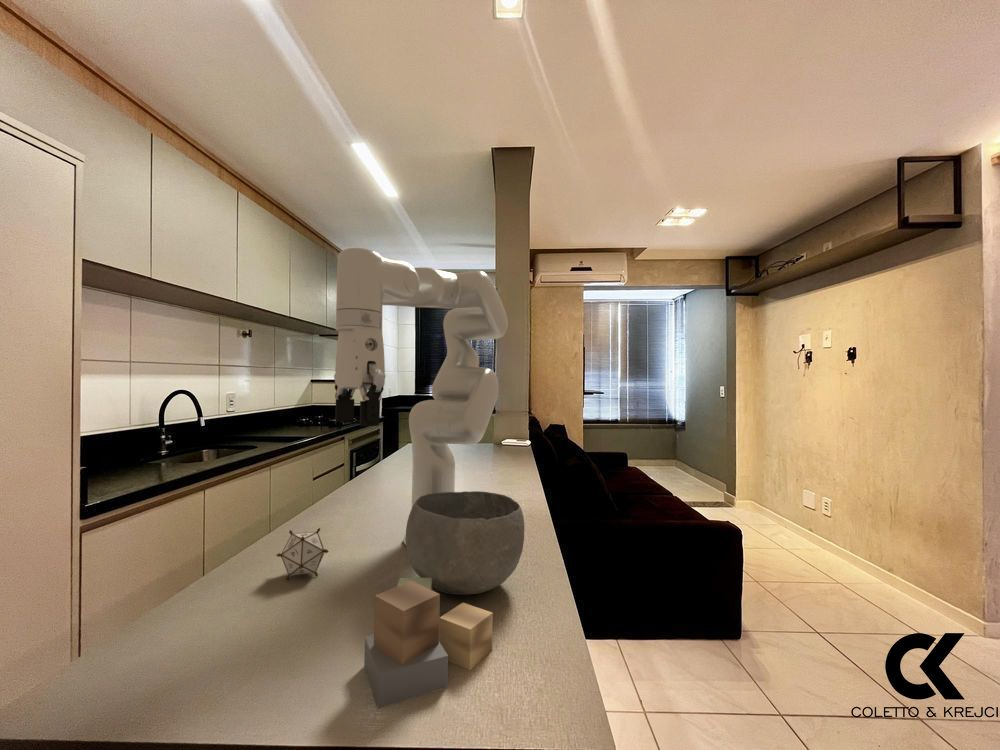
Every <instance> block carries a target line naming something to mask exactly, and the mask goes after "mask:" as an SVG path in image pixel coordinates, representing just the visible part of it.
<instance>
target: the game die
mask: <svg viewBox="0 0 1000 750" xmlns="http://www.w3.org/2000/svg"><path fill="white" fill-rule="evenodd" d="M320 531H321V527H319V528H317V530H316V531H310V532H297V533H296V532H295V533H293V531H292V530H291V529H289V531H288V532H289V535H290V536H289V537H288V539H287V542H286V544H285V546H284V548H283V550H282V551H281V553H280V552H279V553H277V554H276V555H275V556H276V557H277V558H278V557H280V558H281V559H282V562H283V565H284V567H285V570H286V572H287V575H286V577H285V580H286V581H287V580H289V579H290V577H292V576H299V575H309V574H310V575H311V574H314V575H315V577H319V573H318V572H317V571H318V569H319V566H320V565H321V562H322V559H323V557H324V555H325V554H328V553H329V550H328V548H327V549H326V548H324V544H323V543H322V539H321V536H320V533H319V532H320Z"/></svg>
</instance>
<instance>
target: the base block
mask: <svg viewBox="0 0 1000 750" xmlns="http://www.w3.org/2000/svg"><path fill="white" fill-rule="evenodd" d="M363 657H364V661H363V662H364V663H363V667H364V670H365V674H366V677H367V680H368V684H369V686H370V689H371V692H372V696H373V698H374V702H375V705H376V707H377V709H381V708H384V707H387V706H391V705H394V704H397V703H401V702H403V701H407V700H410V699H413V698H417V697H420V696H423V695H427V694H430V693H434V692H437V691H441V690H443V689H446V688H448V677H449V676H448V674H449V673H448V672H449V670H448V669H449V660H448V655H447V653H446V652H445V650H444V648H443V647H442V645H441V644H440V642H439V644H438V645H436V646H434V647H433V648H431V649H429V650H427V651H426V652H424V653H422V654H420V655H419V656H417V657H415V658H414V659H412V660H410V661H408V662H407V663H405V664H403V665H402V664H400V663H399V662H397V661H396V660H394V659H393V658H391V657H390V656H388V655H387V654H385V653H384V652H382V651H381V650H379V649H378V648H376V647H375V646H374V634H370V635H366V636H364V656H363Z"/></svg>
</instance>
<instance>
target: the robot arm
mask: <svg viewBox="0 0 1000 750" xmlns="http://www.w3.org/2000/svg"><path fill="white" fill-rule="evenodd" d="M336 266H337V269H336V270H337V271H336V272H337V273H336V274H337V275H336V301H335V302H336V303H335V304H336V307H335V309H336V310H335V331H336V332H338V335H337V344H336V354H335V356H336V357H335V368H334V371H335V373H334V375H333V378H334V379H333V380H334V389H335V393H334V398H335V410H334V411H335V417H334V418H335V419H334V420H335V422H337V423H343V422H344V423H346V422H354V419H355V398H353V397H354V394H355V391H356V390H359V392H360V395H361V399H362V401H361V400H360V401H359V426H360V427H375V426H377V427H378V426H379V425H380V421H381V419H380V418H381V417H380V416H381V415H380V414H381V401H382V398H383V397H382V393H383V391H384V386H385V383H386V382H385V381H386V372H385V371H386V370H385V369H386V367H385V347H384V346H385V345H384V338H383V333H382V332H383V331H382V327H383V326H382V325H383V306H395V307H408V308H435V309H448V310H449V311H447V313H446V314H445V315H444V318H443V323H442V325H443V334H444V338H445V343H446V349H447V350H446V353H447V354H446V355H445V356H446V357H445V359H444V361H443V363H442V365H441V366H440V368H439V370H438V373H437V374H436V376H435V379H434V381H433V382H432V387H431V396H432V398H433V399H427V400H423V401H419V402H418V403H416V404H415V405H413V407H412V408H411V410H410V412H409V415H408V427H409V434H410V438H411V446H412V447H411V449H412V450H411V451H412V453H411V454H412V475H411V477H412V479H411V508H412V507H413V505H414V503H415V501H416V500H417V499H418V498H419V497H421V496H424V495H427V494H432V493H441V492H456V490H455V488H456V487H455V486H456V485H455V484H456V461H455V456H454V454H453V452H452V451H451V448H450V447H449V445H448V444H452V445H465V446H467V445H468V446H469V445H470V446H471V445H472V446H473V445H475V444H478V443H479V442H480V441H481V440H482V439H483V437H484V435H485V433H486V432H487V428H488V425H489V423H490V419H491V417H492V414H493V412H494V409H495V405H496V403H497V400H498V397H499V389H500V387H499V377H498V376H497V374H496V373H495V372H494V370H493V369H491V368H489V367H485V366H479V365H480V357H479V356H478V354H477V351H475V349H474V347H473V346H472V345H471V344H470V343H469V341H470V340H471V341H473V340H475V341H478V340H498V339H501V338H503V337H504V336H505V334H506V333H507V331H508V326H509V322H508V321H509V320H508V316H507V312H506V310H505V307H504V304H503V302H502V300H501V297H500V296H499V293H498V290H497V288H496V287H495V285H494V283H493V280H492V279H491V277H490V276H489V275H488V274H487V273H486V272H484V271H482V270H472V271H463V272H462V271H461V272H449V271H445V270H441V269H436V268H432V267H423V266H422V267H421V266H420V267H413V266H412V264H410V263H409V262H406V261H404V260H401V259H396V258H391V257H386V256H383V255H380V253H378V252H376V251H375V250H372V249H369V248H363V247H350V248H345V249H343V250H341V251H340V252H339V254H338V256H337V265H336ZM450 309H451V310H450ZM403 544H404V545H405V546H406V534H404V536H403Z"/></svg>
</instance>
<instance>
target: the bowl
mask: <svg viewBox="0 0 1000 750" xmlns="http://www.w3.org/2000/svg"><path fill="white" fill-rule="evenodd" d="M523 513H524V512H523V510H522V507H521V505H520V504H519V502H518V501H515V499H513V498H511V497H509V496H507V495H505V494H501V493H495V492H489V491H482V490H481V491H480V490H479V491H478V490H477V491H476V490H475V491H472V490H471V491H466V490H465V491H455V492H441V493H432V494H427V495H424V496H421V497H419V498H418V499H417V500H416V501H415V503H414V505H413V507H412V506H411V509H410V513H409V515H408V517H407V521H406V529H405V535H406V545H405V547H406V552H407V555H408V559H409V562H410V565H411V568H412V569H413V572H415V573H416V575H417V576H418V578H432V589H435V590H437V591H439V592H442V593H445V594H451V595H463V596H464V595H465V596H466V595H468V596H470V595H471V596H472V595H476V594H477V595H478V594H482V593H485V592H488V591H491V590H493V589H495V588H497V587H498V586H500V585H502V584H504V582H506V581H507V579H508V578H510V576H512V574H513V573H514V572H515V570H516V569H517V566H518V564H519V562H520V559H521V556H522V553H523V549H524V548H523V547H524V541H525V518H524V515H523Z"/></svg>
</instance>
